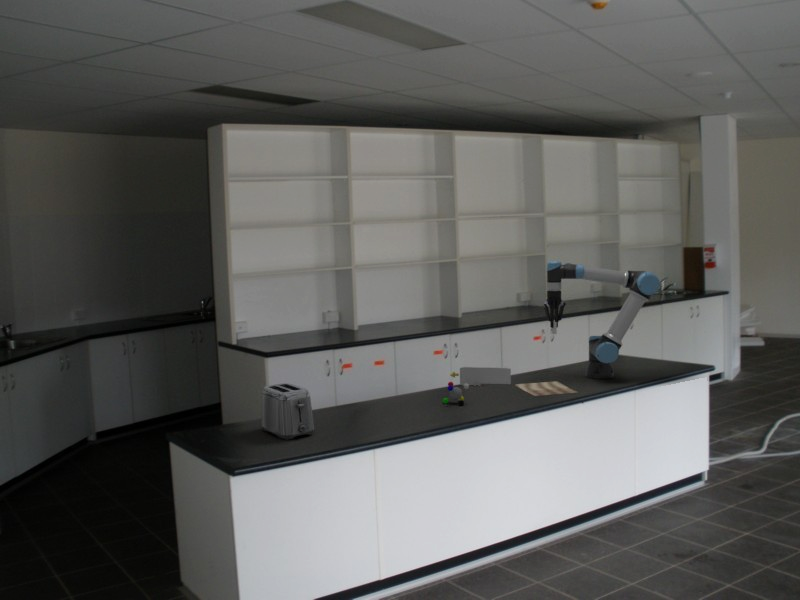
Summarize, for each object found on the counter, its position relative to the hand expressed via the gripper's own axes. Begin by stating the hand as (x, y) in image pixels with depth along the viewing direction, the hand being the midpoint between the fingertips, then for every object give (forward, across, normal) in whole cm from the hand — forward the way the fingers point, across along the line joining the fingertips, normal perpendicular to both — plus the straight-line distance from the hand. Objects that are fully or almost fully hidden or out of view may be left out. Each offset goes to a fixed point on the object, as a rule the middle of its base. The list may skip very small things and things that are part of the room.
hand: (554, 333), depth 412 cm
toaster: (+27, +150, +55) cm, 162 cm away
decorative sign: (+27, +40, -5) cm, 49 cm away
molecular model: (+27, +66, +30) cm, 77 cm away
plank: (+26, +14, +15) cm, 33 cm away
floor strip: (+26, +14, +27) cm, 40 cm away
